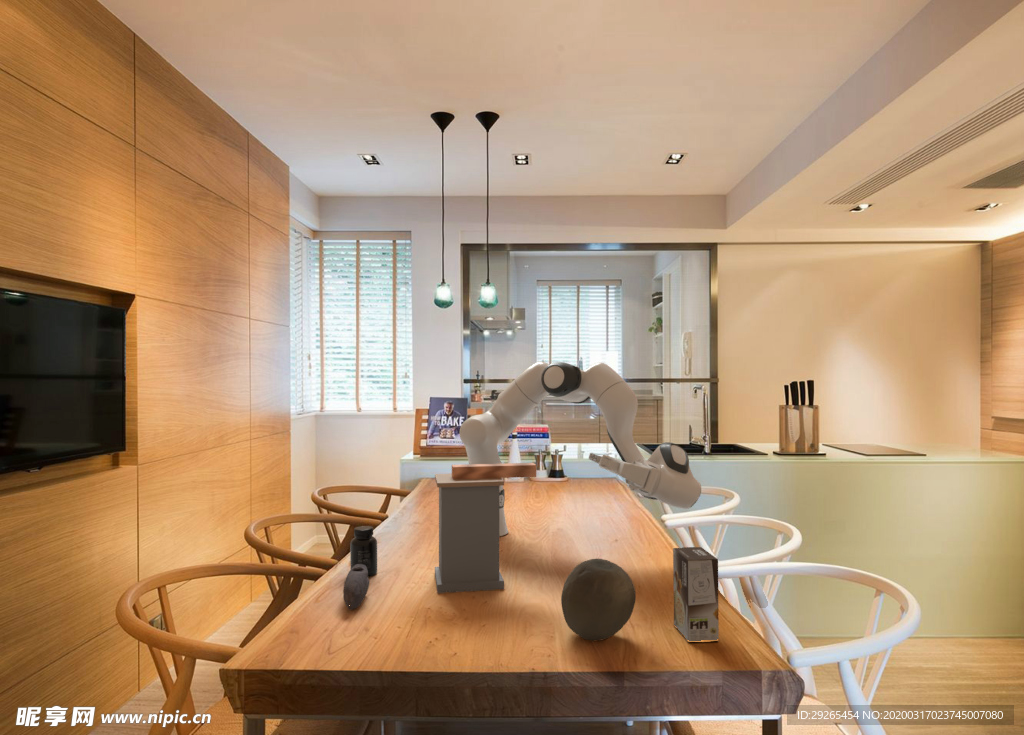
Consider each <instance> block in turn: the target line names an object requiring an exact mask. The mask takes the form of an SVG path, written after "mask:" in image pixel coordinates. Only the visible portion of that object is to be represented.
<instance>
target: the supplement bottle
mask: <svg viewBox="0 0 1024 735" xmlns="http://www.w3.org/2000/svg"><path fill="white" fill-rule="evenodd" d="M353 532H354V533H353V536H354V538H352V539H351V541H350V543H349V544H350V545H349V548H350V549H349V550H350V555H349V556H350V570H351V569H352V567H353V566H355V565H356V564H363V565H365V566H366V568H367V570H368V578H370V577H373V576H375V575H376V574H378V540H377V538H376V537H374V536H373V535H374V527H373V526H372V525H371V526H370V525H361V526H356V527H354V529H353Z"/></svg>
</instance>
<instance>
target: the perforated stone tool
mask: <svg viewBox="0 0 1024 735" xmlns="http://www.w3.org/2000/svg"><path fill="white" fill-rule="evenodd" d="M369 586H370V579H369V577H368V570H367V568H366V566H365V565H363V564H356V565H355V566H353V567H352V569H351V568H350V570H349V571H348V573H347V574H346V577H345V579H344V584H343V588H342V589H343V592H342V593H343V600H344V604H345V606H346V608H347V609H348V610H351V611H353V610H355V609H357V608H358V607H359V606H360V605H361V604H362V603H363V601H364V600H365V597H366V595H367V594H368V590H369ZM349 605H350V606H349Z"/></svg>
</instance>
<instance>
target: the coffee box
mask: <svg viewBox="0 0 1024 735" xmlns="http://www.w3.org/2000/svg"><path fill="white" fill-rule="evenodd" d="M672 551H673V553H672V563H673V565H672V568H673V569H672V570H673V572H672V573H673V574H672V575H673V626H674V625H675V626H676V627H677V628H678V630H679V631H680V632H681V633H682V634H683V635H684V636H685V638H686V639H687V640H689V641H701V640H717V639H720V638H719V633H720V632H719V631H720V629H719V628H720V627H719V622H720V621H719V558H717V557H715V555H713V554H711V553H710V552H709V551H707V550H706V549H705V548H703V547H701V546H699V547H698V546H686V547H684V546H683V547H673V548H672ZM675 626H674V627H675ZM676 627H675V628H676ZM678 630H677V631H678ZM679 631H678V632H679ZM680 632H679V633H680ZM681 633H680V634H681ZM682 634H681V635H682ZM685 638H684V639H685ZM686 639H685V640H686ZM687 640H686V641H687Z"/></svg>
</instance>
